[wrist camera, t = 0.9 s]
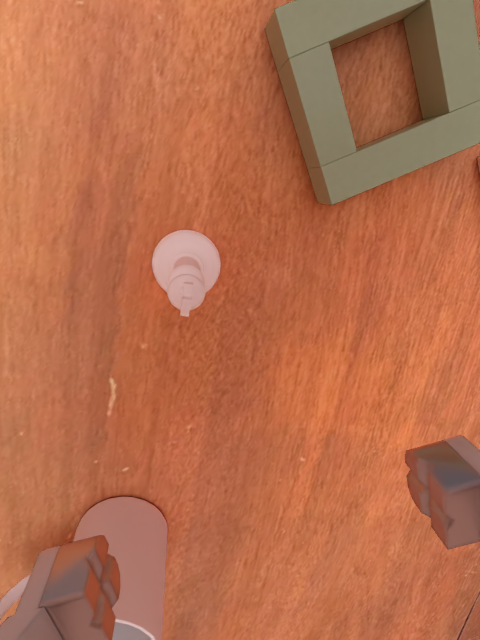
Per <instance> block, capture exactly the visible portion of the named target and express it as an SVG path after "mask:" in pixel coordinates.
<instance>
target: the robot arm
mask: <svg viewBox="0 0 480 640" xmlns="http://www.w3.org/2000/svg"><path fill="white" fill-rule="evenodd" d="M405 463H406V464H407V466H408V467H409V468H410V471H409V473H408V474H407V483H408V488H409V491H410V494H411V497H412V499H413V500H414V502H415V504H416V506H417V507H418V509H419V510H420V512H421V513H423V514H425V515H427V516H429V517H431V527H432V528H433V530H434V531H435V533H436V534H437V535H438V537H439V538H440V539H441V541H442V542H443V544H444V545H445V546H446V548H447V549H452V548H456V547H460V546H464V545H468V544H472V543H476V542H480V450H478V449H477V448H476V447H475V446H474V445H473V444H472V443H471V442H470V441H468V440H467V439H466V438H465V437H464V436H461V435H458V436H455V437H451V438H448V439H444V440H442V441H438V442H434V443H431V444H427V445H424V446H420V447H417V448H413V449H410V450H406V453H405ZM108 548H109V544H108V542H107V540H106V538H105V536H104V535H98V536H94V537H90V538H86V539H82V540H78V541H74V542H70V543H66V544H63V545H60V546H56V547H52V548H48V549H44V550H43V551H42V552H41V553H40V554H39V555H38V557H37V560H36V562H35V565H34V567H33V570H32V572H31V575H30V577H29V579H28V582H27V584H26V587H25V589H24V592H23V594H22V597H21V599H20V602H19V604H18V607H17V609H16V612H15V614H14V615H13V616H10V617H7V619H6V620H5V621H4V622H3V623H2V624H1V625H0V640H112V637H113V631H114V625H115V619H116V617H115V614H114V612H113V610H112V608H113V606H114V605H115V603H116V602H117V600H118V599H119V594H120V587H121V584H120V571H119V567H118V563H117V561H116V559H115V557H114V556H112V555H110V554H108ZM468 640H480V636H477V637H474V638H471V639H468Z"/></svg>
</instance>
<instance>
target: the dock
mask: <svg viewBox="0 0 480 640" xmlns="http://www.w3.org/2000/svg"><path fill="white" fill-rule="evenodd" d="M402 19H403V21H404V26H405V31H406V36H407V41H408V46H409V51H410V57H411V62H412V67H413V72H414V77H415V82H416V87H417V92H418V98H419V103H420V108H421V113H422V118H423V119H424V120H421V121H419V122H417V123H414V124H412V125H409V126H407V127H405V128H402V129H400V130H398V131H395V132H393V133H390V134H388V135H386V136H383V137H381V138H379V139H376V140H374V141H371V142H369V143H367V144H364V145H362V146H360V147H357V148H356V145H355V141H354V137H353V133H352V129H351V125H350V122H349V118H348V114H347V110H346V106H345V102H344V98H343V94H342V91H341V87H340V83H339V79H338V75H337V71H336V67H335V63H334V60H333V56H332V52H331V49H333V48H336V47H338V46H341V45H343V44H345V43H348V42H350V41H352V40H355V39H357V38H359V37H362V36H364V35H367V34H369V33H371V32H374V31H376V30H378V29H381V28H383V27H385V26H388V25H390V24H392V23H395V22H397V21H400V20H402ZM265 32H266V36H267V39H268V42H269V45H270V49H271V52H272V55H273V58H274V62H275V65H276V68H277V71H278V75H279V78H280V81H281V85H282V88H283V91H284V94H285V98H286V101H287V104H288V108H289V111H290V114H291V117H292V121H293V124H294V127H295V130H296V134H297V137H298V140H299V143H300V147H301V150H302V153H303V157H304V160H305V163H306V166H307V168H308V169H307V170H308V173H309V176H310V179H311V183H312V186H313V189H314V192H315V196H316V199H317V202H318V203H322V204H328V205H334V204H336V203H339V202H341V201H343V200H346V199H348V198H350V197H353V196H355V195H358V194H360V193H362V192H365V191H367V190H369V189H372V188H374V187H377V186H379V185H381V184H384V183H386V182H389V181H391V180H393V179H396V178H398V177H400V176H403V175H405V174H408V173H410V172H412V171H415V170H417V169H419V168H422V167H424V166H427V165H429V164H431V163H434V162H436V161H438V160H441V159H443V158H446V157H448V156H450V155H453V154H455V153H458V152H460V151H462V150H465V149H467V148H469V147H472V146H474V145H477V144H479V143H480V50H479V43H478V35H477V28H476V21H475V14H474V6H473V0H294V1H292V2H290V3H287V4H285V5H283V6H280V7H278V8H276V9H274V11H273V13H272V15H271V17H270V19H269V21H268V23H267V25H266V27H265Z"/></svg>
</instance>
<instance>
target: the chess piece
mask: <svg viewBox="0 0 480 640" xmlns="http://www.w3.org/2000/svg"><path fill="white" fill-rule="evenodd" d="M220 268H221V261H220V256H219V252H218V250H217V248H216V246H215V245H214V243H213V242H212V241H211V240H210V239H209V238H208V237H206V236H205V235H203V234H201V233H199V232H196V231H193V230H179V231H175V232H172V233H170V234H168V235H167V236H165V237H164V238H163V239H162V240H161V241H160V242H159V243H158V244H157V246H156V248H155V250H154V253H153V256H152V270H153V273H154V276H155V279H156V281H157V282H158V284H159V285H160V286H161V287H162V289H164V290H165V291H166V292H167V294H168V298H169V301H170V302H171V304H172V305H173V306H174V307H176V308H177V309H180V310H181V312H180V316H187V317H189V311H190V310H193V309H196V308H197V307H199V306H200V305H201V304H202V302H203V300H204V298H205V293H206V292H208V291H209V290H210V289H211V288H212V287H213V286H214V284H215V283H216V281H217V279H218V276H219V273H220Z"/></svg>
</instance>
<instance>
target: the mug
mask: <svg viewBox="0 0 480 640" xmlns="http://www.w3.org/2000/svg"><path fill="white" fill-rule="evenodd" d="M98 535H104V536H105V538H106V540H107V542H108V544H109V548H108V554H110V555H112V556H114V557H115V559H116V561H117V563H118V567H119V571H120V584H121V587H120V594H119V599H118V600H117V602H116V603H115V605H114V606H113V608H112V610H113V612H114V614H115V617H116V619H115V625H114V631H113V637H112V640H162V629H163V610H164V592H165V574H166V556H167V538H168V528H167V523H166V520H165V518H164V517H163V515H162V513H161V511H159V510H158V509H157V508H156V507H155V506H154V505H153V504H151V503H149V502H147V501H145V500H142V499H138V498H135V497H116V498H110V499H107V500H104V501H102V502H99V503H98V504H96V505H95V506H93V507H92V508H90V509H89V510H88V511H87V512H86V514H85V515H84V516H83V517H82V518H81V520H80V523H79V525H78V527H77V530H76V533H75V537H74V540H73V542H74V541H78V540H82V539H86V538H90V537H94V536H98ZM30 575H31V573H30V574H29V575H28V576H26V577H25V578H23V579H22V580H20V581H19V582H18V583H17V584H16V585H15V586H13V587H12V588H11V589H10V590H9V591H8V592H7V593H6V594H5V595H4V596H3V597H2V598H1V600H0V620H1V618H2V617H3V615H4V614H5V613H6V612H7V611H8V609H9V608H10V607H11V606H12V605H13V604H14V603H15V602H16V601H17V600H18V599H19V598H20V597H22V594H23V592H24V589H25V587H26V584H27V582H28V579H29V577H30Z"/></svg>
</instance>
